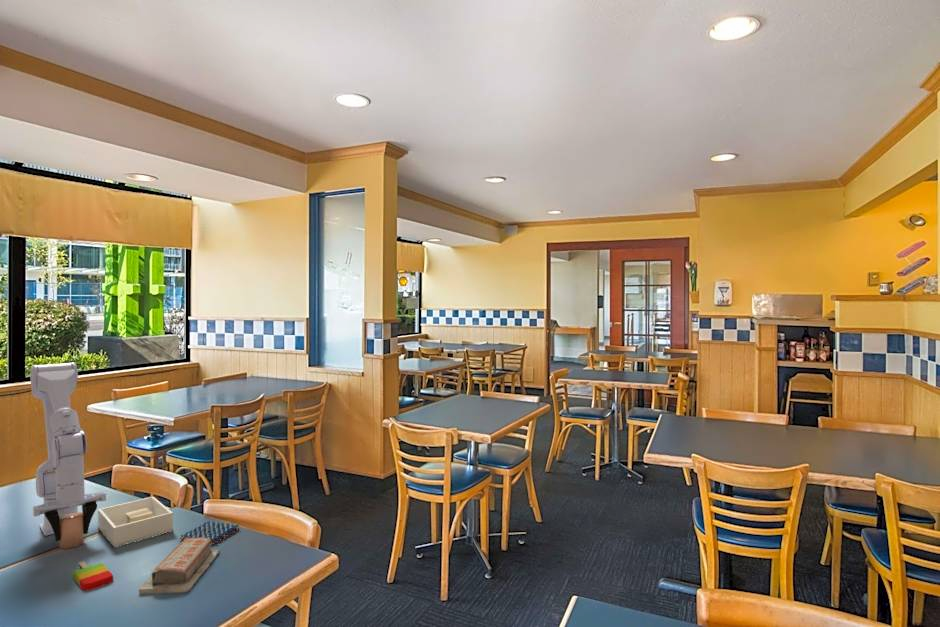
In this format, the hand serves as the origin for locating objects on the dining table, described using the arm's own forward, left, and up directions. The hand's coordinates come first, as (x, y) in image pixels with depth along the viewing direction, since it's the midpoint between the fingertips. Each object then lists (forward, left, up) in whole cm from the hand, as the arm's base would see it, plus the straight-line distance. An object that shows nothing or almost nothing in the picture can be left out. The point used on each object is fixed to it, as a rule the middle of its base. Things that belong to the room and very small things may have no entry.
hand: (71, 536), depth 135 cm
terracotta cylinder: (0, 0, -2) cm, 2 cm away
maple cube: (+6, +14, -1) cm, 15 cm away
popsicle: (+22, 0, -3) cm, 22 cm away
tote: (+2, +14, -2) cm, 14 cm away
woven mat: (+20, +26, -3) cm, 33 cm away
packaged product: (+35, +15, -3) cm, 38 cm away
